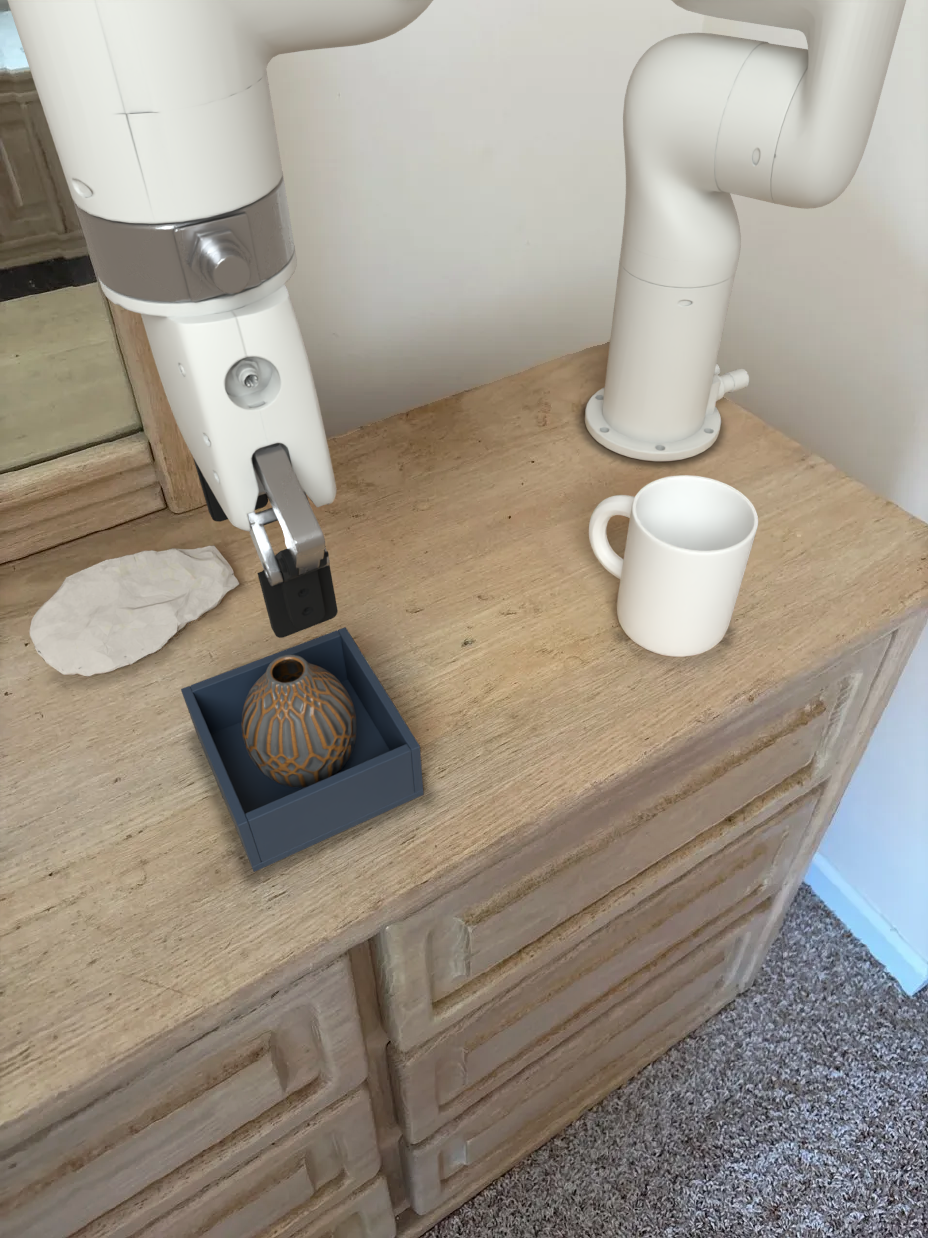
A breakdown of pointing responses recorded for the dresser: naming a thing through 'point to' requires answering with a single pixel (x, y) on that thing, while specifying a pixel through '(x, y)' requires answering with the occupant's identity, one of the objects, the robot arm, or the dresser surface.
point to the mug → (677, 561)
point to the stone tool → (127, 608)
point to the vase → (298, 723)
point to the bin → (311, 814)
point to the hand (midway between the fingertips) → (271, 564)
